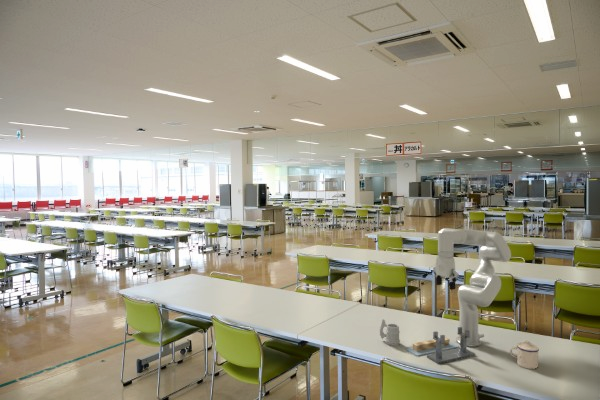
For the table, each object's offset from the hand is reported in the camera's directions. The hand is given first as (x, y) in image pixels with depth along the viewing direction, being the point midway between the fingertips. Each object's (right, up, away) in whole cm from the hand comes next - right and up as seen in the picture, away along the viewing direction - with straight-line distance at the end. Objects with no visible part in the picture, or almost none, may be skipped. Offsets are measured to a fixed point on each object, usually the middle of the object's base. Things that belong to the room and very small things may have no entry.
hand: (445, 287), depth 199 cm
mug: (-26, -34, +12) cm, 44 cm away
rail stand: (+1, -34, -6) cm, 34 cm away
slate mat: (-6, -34, +5) cm, 34 cm away
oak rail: (-6, -31, +5) cm, 32 cm away
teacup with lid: (+32, -34, -14) cm, 49 cm away
